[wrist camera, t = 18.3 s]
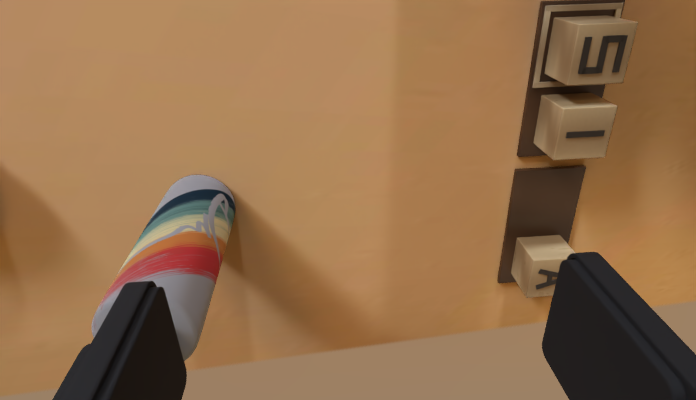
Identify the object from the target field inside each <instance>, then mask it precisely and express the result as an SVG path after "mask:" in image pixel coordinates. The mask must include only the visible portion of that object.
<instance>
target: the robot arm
mask: <svg viewBox="0 0 696 400" xmlns="http://www.w3.org/2000/svg"><path fill="white" fill-rule="evenodd" d="M542 349H543V353H544V356H545V358H546V360H547V362H548V364H549V365H550V367H551V369H552V370H553V372H554V374H555V376H556V377H557V379H558V381H559V383H560V384H561V386H562V388H563V390H564V391H565V393H566V395H567V396H568V398H569V400H696V355H695V353H694V352H693V351H692V350H691V349H690V348H689V347H688V346H687V345H686V344H685V343H684V342H683V341H682V340H681V339H680V338H679V337H678V336H677V335H676V334H675V333H674V332H673V330H672V329H671V328H670V327H669V326H668V325H667V324H666V323H665V322H664V321H663V320H662V319H661V318H660V317H659V316H658V315H657V314H656V313H655V312H654V311H653V310H652V308H651V307H650V306H649V305H648V304H647V303H646V302H645V301H644V300H643V299H642V298H641V297H640V296H639V295H638V294H637V293H636V292H635V291H634V290H633V289H632V288H631V286H630V285H629V284H628V283H627V282H626V281H625V280H624V279H623V278H622V277H621V276H620V275H619V274H618V273H617V272H616V271H615V270H614V269H613V268H612V267H611V266H610V265H609V263H608V262H607V261H606V260H605V259H604V258H603V257H602V256H601V255H600V254H598V253H597V252H585V253H572V254H570V255H569V256H568V257H567V260H563V261H562V262H561V264H560V268H559V272H558V276H557V281H556V285H555V289H554V294H553V298H552V302H551V307H550V311H549V315H548V320H547V324H546V328H545V333H544V337H543V342H542ZM186 376H187V375H186V367H185V363H184V360H183V356H182V352H181V349H180V345H179V341H178V338H177V334H176V330H175V327H174V323H173V319H172V316H171V312H170V308H169V305H168V301H167V297H166V294H165V290H164V288H163V287H157V286H156V284H155V283H154V282H153V281H142V282H128V283H126V284H125V285H124V286H123V288H122V289H121V291H120V293H119V295H118V296H117V298H116V300H115V302H114V304H113V305H112V307H111V309H110V311H109V313H108V314H107V316H106V318H105V320H104V321H103V323H102V325H101V327H100V329H99V330H98V332H97V334H96V336H95V338H94V339H93V341H92V343H91V344H88V345H86V346H85V347H84V348H83V349H82V350H81V352H80V353H79V355H78V356H77V358H76V360H75V361H74V363H73V365H72V367H71V368H70V370H69V372H68V374H67V375H66V377H65V379H64V381H63V382H62V384H61V386H60V388H59V389H58V391H57V393H56V395H55V396H54V398H53V400H181V399H182V395H183V392H184V389H185V385H186Z"/></svg>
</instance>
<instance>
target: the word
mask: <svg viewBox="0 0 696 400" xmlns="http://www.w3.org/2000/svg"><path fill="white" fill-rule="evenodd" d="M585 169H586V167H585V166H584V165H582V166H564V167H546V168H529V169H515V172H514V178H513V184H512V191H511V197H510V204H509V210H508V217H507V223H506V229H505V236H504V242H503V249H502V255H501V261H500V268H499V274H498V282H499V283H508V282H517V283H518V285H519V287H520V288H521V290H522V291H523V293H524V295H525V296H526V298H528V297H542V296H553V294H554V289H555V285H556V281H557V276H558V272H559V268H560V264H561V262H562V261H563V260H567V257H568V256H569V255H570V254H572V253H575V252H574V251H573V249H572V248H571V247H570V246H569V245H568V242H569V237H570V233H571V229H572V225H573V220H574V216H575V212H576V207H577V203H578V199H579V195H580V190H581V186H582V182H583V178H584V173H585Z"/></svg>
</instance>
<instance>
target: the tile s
mask: <svg viewBox="0 0 696 400" xmlns="http://www.w3.org/2000/svg"><path fill="white" fill-rule="evenodd" d="M637 25H638V22H636V21H631V20H627V19H622V18H617V17H613V16H608V15H604V16H579V17H555V18H554V20H553V26H552V32H551V38H550V43H549V49H548V55H547V61H546V67H545V74H546V75H548V76H550V77H552V78H554V79H556V80H558V81H560V82H561V83H563V84H565V85H567V86H570V85H591V84H613V83H623V81H624V77H625V73H626V69H627V65H628V61H629V57H630V53H631V49H632V45H633V41H634V37H635V33H636V29H637Z"/></svg>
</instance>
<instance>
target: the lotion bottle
mask: <svg viewBox="0 0 696 400" xmlns="http://www.w3.org/2000/svg"><path fill="white" fill-rule="evenodd" d="M234 216H235V201H234V198H233V196H232V194H231V192H230V191H229V189H228V188H227V187H226V186H225V185H224V184H223V183H221V182H220V181H218V180H216V179H214V178H212V177H209V176H205V175H190V176H186V177H184V178H181V179H180V180H178V181H177V182H175V183H174V184H173V185H172V186H171V187H170V189H169V190H168V191H167V193H166V194H165V196H164V198H163V199H162V201H161V203H160V204H159V206H158V208H157V209H156V211H155V213H154V214H153V216H152V218H151V219H150V221H149V223H148V224H147V226H146V228H145V229H144V231H143V233H142V234H141V236H140V238H139V239H138V241H137V243H136V244H135V246H134V248H133V249H132V251H131V253H130V254H129V256H128V258H127V259H126V261H125V263H124V264H123V266H122V268H121V269H120V271H119V273H118V274H117V276H116V278H115V279H114V281H113V283H112V284H111V286H110V288H109V289H108V291H107V293H106V295H105V296H104V298H103V300H102V301H101V303H100V305H99V307H98V309H97V311H96V313H95V315H94V318H93V321H92V333H93V337H94V338H95V336H96V334H97V332H98V330H99V329H100V327H101V325H102V323H103V321H104V320H105V318H106V316H107V314H108V313H109V311H110V309H111V307H112V305H113V304H114V302H115V300H116V298H117V296H118V295H119V293H120V291H121V289H122V288H123V286H124V285H125V284H126V283H128V282H142V281H153V282H154V283H155V284H156V286H157V287H163V288H164V290H165V294H166V297H167V301H168V305H169V308H170V312H171V316H172V319H173V323H174V327H175V330H176V334H177V338H178V341H179V345H180V349H181V352H182V356H183V360H184V361H185V360H186V359H188V358H189V357H190V356H191V354H192V353H193V352H194V350H195V348H196V346H197V344H198V341H199V338H200V335H201V332H202V329H203V325H204V322H205V319H206V315H207V312H208V308H209V305H210V301H211V298H212V294H213V291H214V287H215V284H216V280H217V277H218V273H219V270H220V266H221V263H222V259H223V256H224V252H225V249H226V245H227V242H228V238H229V235H230V231H231V228H232V224H233V220H234Z"/></svg>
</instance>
